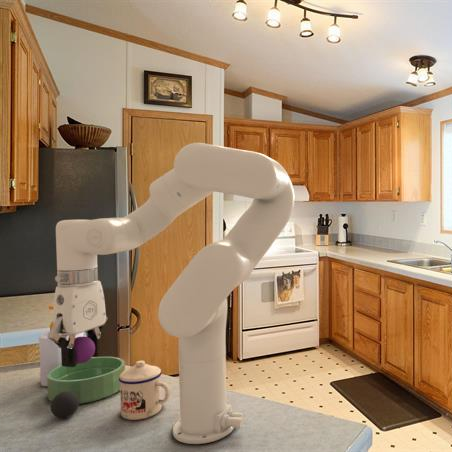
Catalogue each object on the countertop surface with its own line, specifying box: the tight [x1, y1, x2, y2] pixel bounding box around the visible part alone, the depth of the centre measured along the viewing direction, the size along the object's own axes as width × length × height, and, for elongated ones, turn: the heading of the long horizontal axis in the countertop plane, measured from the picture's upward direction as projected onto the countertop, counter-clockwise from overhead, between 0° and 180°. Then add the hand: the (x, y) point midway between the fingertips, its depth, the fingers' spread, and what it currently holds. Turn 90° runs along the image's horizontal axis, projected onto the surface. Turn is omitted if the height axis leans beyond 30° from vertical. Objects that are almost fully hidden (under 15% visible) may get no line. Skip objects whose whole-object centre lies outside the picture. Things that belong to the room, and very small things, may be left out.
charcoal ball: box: [49, 391, 80, 419], centre depth 97 cm, size 6×6×6 cm
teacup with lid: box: [119, 360, 171, 421], centre depth 99 cm, size 12×9×12 cm
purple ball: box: [73, 336, 95, 364], centre depth 92 cm, size 6×6×6 cm
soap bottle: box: [38, 304, 85, 387], centre depth 121 cm, size 13×8×20 cm, turn 169°
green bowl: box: [46, 356, 126, 405], centre depth 111 cm, size 18×18×6 cm
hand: (80, 360), depth 92 cm, fingers closed on purple ball, 5 cm apart
